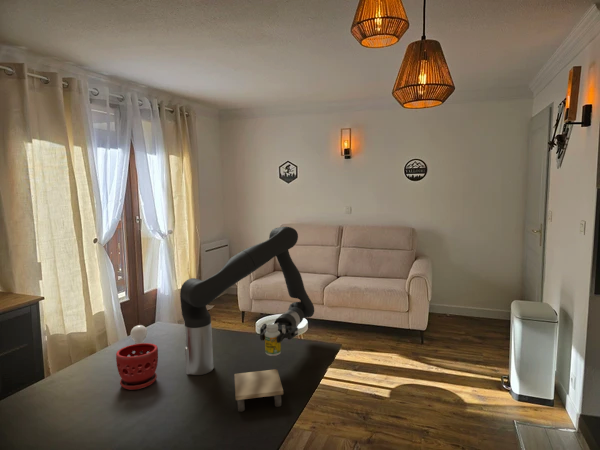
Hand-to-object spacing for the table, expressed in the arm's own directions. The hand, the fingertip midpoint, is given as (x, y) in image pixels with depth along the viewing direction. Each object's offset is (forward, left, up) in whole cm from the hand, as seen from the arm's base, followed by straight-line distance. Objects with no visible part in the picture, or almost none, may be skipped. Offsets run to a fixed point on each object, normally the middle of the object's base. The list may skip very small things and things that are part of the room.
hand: (269, 338), depth 136 cm
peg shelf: (-5, -13, -14) cm, 19 cm away
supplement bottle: (+1, +2, -6) cm, 7 cm away
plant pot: (-44, +6, -14) cm, 47 cm away
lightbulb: (-50, +33, -14) cm, 61 cm away
